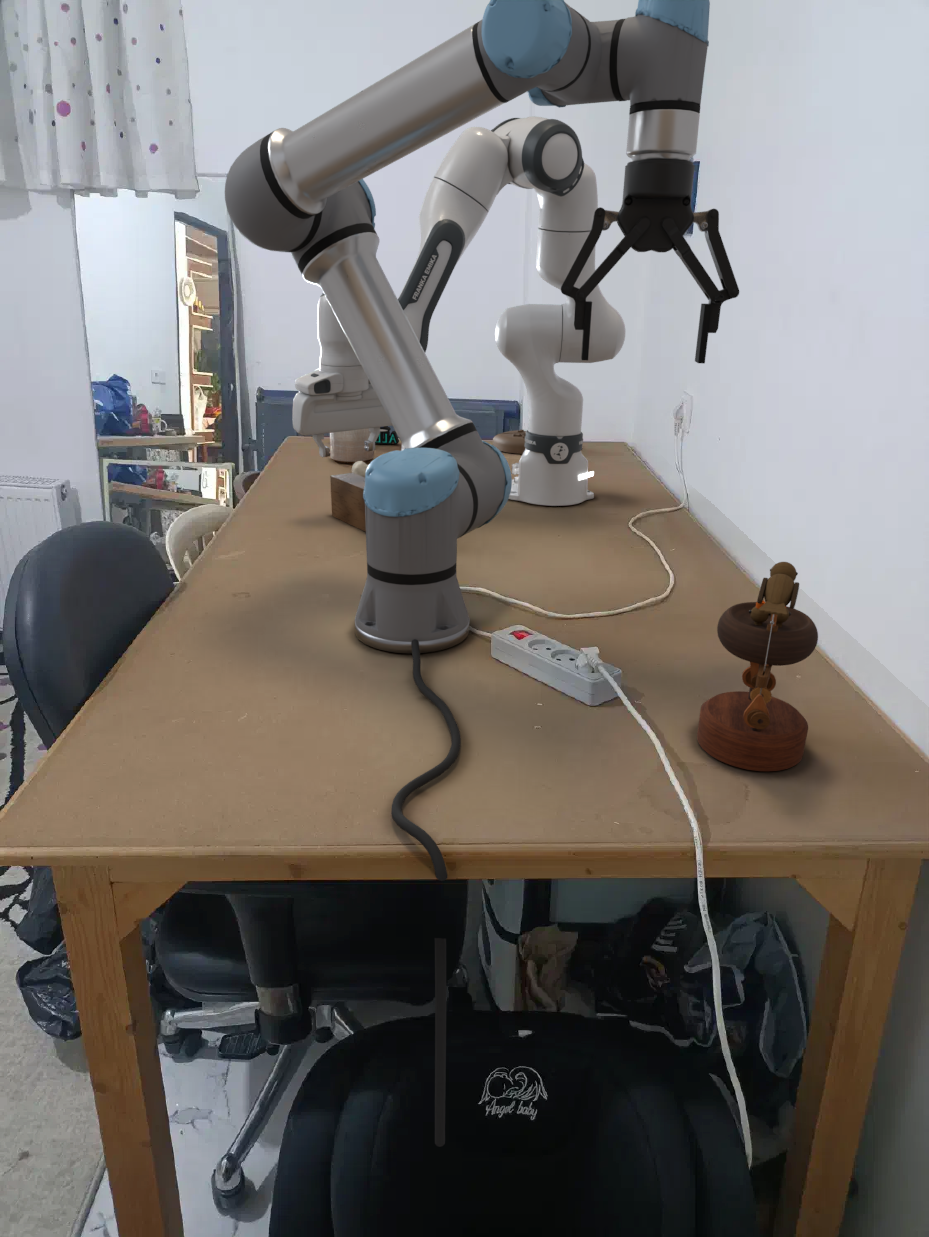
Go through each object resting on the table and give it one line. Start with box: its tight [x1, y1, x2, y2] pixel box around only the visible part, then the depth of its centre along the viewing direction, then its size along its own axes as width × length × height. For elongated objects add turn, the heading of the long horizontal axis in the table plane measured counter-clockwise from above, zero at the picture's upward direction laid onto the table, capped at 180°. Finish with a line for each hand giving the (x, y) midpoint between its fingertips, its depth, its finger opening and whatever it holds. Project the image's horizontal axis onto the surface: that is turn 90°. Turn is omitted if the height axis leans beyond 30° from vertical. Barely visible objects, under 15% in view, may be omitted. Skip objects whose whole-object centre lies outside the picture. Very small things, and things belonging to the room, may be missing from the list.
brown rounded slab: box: [492, 428, 527, 455], centre depth 225 cm, size 21×28×4 cm
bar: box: [329, 472, 366, 533], centre depth 155 cm, size 28×5×8 cm, turn 36°
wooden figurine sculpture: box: [696, 561, 819, 772], centre depth 84 cm, size 15×11×20 cm
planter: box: [329, 428, 375, 464], centre depth 212 cm, size 11×11×10 cm
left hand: (641, 361), depth 101 cm, fingers open, 13 cm apart
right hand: (347, 453), depth 162 cm, fingers open, 8 cm apart
